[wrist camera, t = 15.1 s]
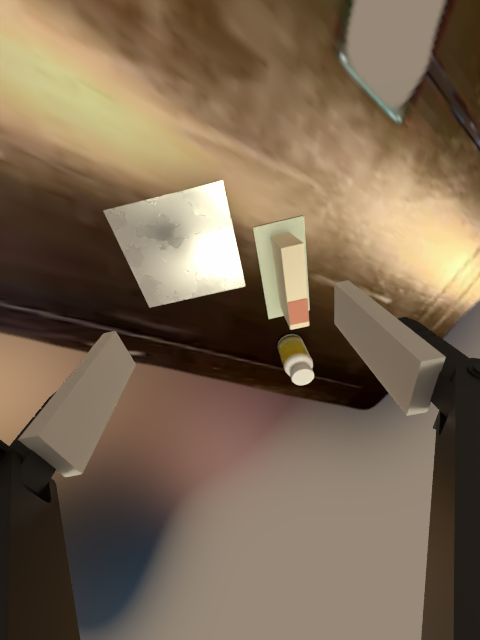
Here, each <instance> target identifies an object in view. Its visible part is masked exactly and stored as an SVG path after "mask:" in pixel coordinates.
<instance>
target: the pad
mask: <svg viewBox="0 0 480 640" xmlns="http://www.w3.org/2000/svg"><path fill="white" fill-rule="evenodd" d="M253 232H254V238H255V243H256V249H257V255H258V261H259V267H260V272H261V278H262V284H263V290H264V295H265V301H266V307H267V313H268V318H269V319H271V318H276V317H280V316H284V314H283V312H282V310H281V307H280V302H279V295H278V288H277V281H276V273H275V266H274V259H273V252H272V244H271V237H270V236H274V235H278V234H282V233H286V232H290V233H291V234H292V235H294V236H295V237H296V238H298V239H299V240H300V241H302V242H303V243H304V253H305V268H306V283H307V298H308V311H309V310H310V307H309V290H308V274H307V258H306V242H305V225H304V216H299V217H295V218H291V219H286V220H282V221H278V222H274V223H269V224H265V225H261V226H257V227H253Z"/></svg>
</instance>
